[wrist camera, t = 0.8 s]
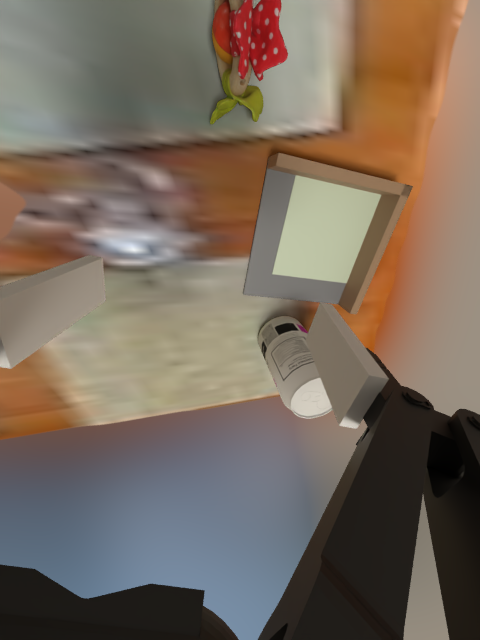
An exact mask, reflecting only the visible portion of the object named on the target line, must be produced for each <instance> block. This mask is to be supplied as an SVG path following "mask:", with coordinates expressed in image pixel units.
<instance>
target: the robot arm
mask: <svg viewBox="0 0 480 640" xmlns="http://www.w3.org/2000/svg"><path fill="white" fill-rule="evenodd" d="M105 301H106V297H105V283H104V270H103V258H100V257H95V256H91V255H88V256H86V257H83V258H80V259H77V260H74V261H72V262H69V263H66V264H63V265H60V266H57V267H55V268H52V269H49V270H46V271H43V272H41V273H38V274H35V275H32V276H29V277H27V278H24V279H21V280H18V281H15V282H12V283H10V284H7V285H4V286H1V287H0V367H4V368H10V369H11V368H13V367H14V366H15V365H17V364H18V363H20V362H21V361H22V360H24V359H25V358H27V357H28V356H29V355H31V354H32V353H34V352H35V351H36V350H38V349H39V348H41V347H42V346H43V345H45V344H46V343H48V342H49V341H50V340H52V339H53V338H55V337H56V336H57V335H59V334H60V333H62V332H63V331H64V330H66V329H67V328H69V327H70V326H71V325H73V324H74V323H76V322H77V321H78V320H80V319H81V318H83V317H84V316H85V315H87V314H88V313H90V312H91V311H92V310H94V309H95V308H97V307H98V306H99V305H101V304H102V303H104V302H105ZM306 342H307V345H308V347H309V350H310V352H311V355H312V358H313V360H314V363H315V365H316V368H317V370H318V373H319V375H320V378H321V381H322V383H323V386H324V388H325V391H326V393H327V396H328V398H329V401H330V404H331V406H332V409H333V411H334V414H335V416H336V419H337V421H338V424H339V426H344V427H350V428H357V427H358V426H359V424H360V423H361V421H362V420H363V419H364V420H365V422H366V424H367V426H368V427H367V429H366V430H365V432H364V433H363V435H362V436H361V437H360V439H359V440H358V442H357V443H356V445H357V447H356V449H355V451H354V454H353V456H352V457H351V459H350V461H349V463H348V465H347V467H346V469H345V472H344V473H343V475H342V477H341V479H340V482H339V484H338V485H337V487H336V490H335V492H334V493H333V496H332V498H331V499H330V501H329V504H328V505H327V507H326V509H325V512H324V513H323V515H322V517H321V520H320V522H319V524H318V526H317V528H316V530H315V532H314V534H313V536H312V538H311V540H310V542H309V544H308V546H307V548H306V550H305V552H304V554H303V556H302V558H301V560H300V562H299V564H298V566H297V568H296V570H295V572H294V574H293V576H292V578H291V580H290V582H289V584H288V586H287V588H286V590H285V592H284V594H283V596H282V598H281V600H280V601H279V603H278V605H277V607H276V608H275V610H274V612H273V613H272V615H271V617H270V619H269V620H268V622H267V624H266V625H265V627H264V629H263V631H262V633H261V634H260V636H259V638H258V640H403V636H404V625H405V618H406V610H407V602H408V596H409V589H410V582H411V575H412V567H413V560H414V553H415V546H416V539H417V531H418V524H419V516H420V510H421V503H422V495H423V494H424V501H425V506H426V511H427V517H428V523H429V528H430V534H431V539H432V545H433V550H434V556H435V561H436V567H437V572H438V578H439V584H440V589H441V595H442V600H443V606H444V611H445V617H446V622H447V628H448V633H449V639H450V640H480V415H479V414H477V413H475V412H472V411H469V410H466V409H459V410H457V411H456V412H455V414H454V415H453V416H452V417H450V416H447V415H445V414H442V413H440V412H437V411H435V410H434V408H433V405H432V404H431V403H430V402H429V400H427V399H426V398H425V397H424V396H423V395H421V394H420V393H418V392H416V391H414V390H412V389H410V388H408V387H404V386H401V385H400V384H399V383H398V381H397V380H396V379H395V378H394V377H393V375H392V374H391V373H390V371H389V370H388V369H386V367H385V365H384V364H383V363H382V362H381V360H380V359H379V358H378V357H377V355H376V354H374V353H373V352H372V351H370V350H369V349H368V348H365V347H364V346H363V344H362V343H361V342H360V340H359V339H358V338H357V337H356V335H355V334H354V333H353V331H352V330H351V329H350V327H349V326H348V325H347V324H346V322H345V321H344V320H343V318H342V317H341V316H340V314H339V313H338V312H337V311H336V309H335V308H334V307H333V305H330V304H325V303H321V302H320V304H319V307H318V309H317V312H316V314H315V317H314V319H313V322H312V324H311V327H310V330H309V332H308V335H307V337H306ZM203 599H204V590H196V589H189V588H180V587H172V586H165V585H156V584H148V585H144V586H140V587H135V588H131V589H127V590H123V591H119V592H115V593H111V594H106V595H102V596H98V597H94V598H89V599H84V598H81V597H79V596H77V595H75V594H74V593H72V592H71V591H69V590H67V589H66V588H64V587H63V586H61V585H59V584H58V583H56V582H55V581H53V580H51V579H50V578H48V577H47V576H45V575H43V574H42V573H40V572H39V571H37V570H35V569H29V568H22V567H14V566H5V565H0V640H238V638H237V636H236V635H235V634H234V633H233V631H232V630H231V629H230V628H229V627H228V626H227V624H226V623H225V622H224V621H223V620H222V619H221V618H219V617H218V616H217V615H216V614H215V613H214V612H212V611H211V610H209V609H207V608H206V607H204V606H203Z"/></svg>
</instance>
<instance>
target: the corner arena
mask: <svg viewBox="0 0 480 640" xmlns="http://www.w3.org/2000/svg"><path fill="white" fill-rule="evenodd" d="M412 187H413V186H410V185H406V184H402V183H398V182H394V181H390V180H386V179H382V178H378V177H374V176H370V175H366V174H362V173H358V172H354V171H350V170H346V169H342V168H338V167H334V166H330V165H326V164H322V163H318V162H314V161H310V160H306V159H302V158H298V157H294V156H290V155H286V154H282V153H277V154H275V155H273V156H271V157H269V158H268V163H267V169H266V174H265V179H264V185H263V190H262V195H261V201H260V206H259V211H258V216H257V222H256V227H255V232H254V238H253V243H252V248H251V254H250V259H249V264H248V269H247V275H246V280H245V285H244V291H243V295H251V296H261V297H271V298H281V299H291V300H301V301H312V302H322V303H332V304H339V305H340V306H341V307H342V308H344V309H345V310H346V311H347V312H349V313H350V314H357V312H358V310H359V307H360V305H361V303H362V301H363V298H364V296H365V294H366V292H367V289H368V287H369V285H370V283H371V280H372V278H373V276H374V273H375V271H376V269H377V267H378V264H379V262H380V260H381V258H382V255H383V253H384V251H385V249H386V246H387V244H388V242H389V240H390V237H391V235H392V233H393V230H394V228H395V226H396V224H397V221H398V219H399V217H400V215H401V212H402V210H403V208H404V206H405V203H406V201H407V199H408V196H409V194H410V192H411V190H412Z"/></svg>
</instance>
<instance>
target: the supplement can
mask: <svg viewBox="0 0 480 640" xmlns="http://www.w3.org/2000/svg"><path fill="white" fill-rule="evenodd" d="M307 335H308V332H307V331H306V329H305V328H304V327H303V326H302V324H301V323H300V322H299V321H298V320H297V319H295V318H293V317H290V316H280V317H277V318H273V319H272V320H270V321H269V322H267V323H266V324H265V325H264V326H263V327H262V329H261V330H260V333H259V336H258V344H259V346H260V349H261V351H262V353H263V356H264V358H265V361H266V363H267V365H268V368H269V370H270V372H271V375H272V377H273V380H274V382H275V384H276V387H277V389H278V391H279V394H280V396H281V399H282V401H283V403H284V405H285V406H286V407H287V408H289V409H290V410H292V411H293V413H294V414H296V415H297V416H299V417H302V418H316V417H319V416H322V415H325V414H327V413H328V412H330V411H332V410H333V409H332V406H331V404H330V401H329V398H328V396H327V393H326V391H325V388H324V386H323V383H322V381H321V378H320V375H319V373H318V370H317V368H316V365H315V363H314V360H313V358H312V355H311V352H310V350H309V347H308V345H307V342H306V337H307Z"/></svg>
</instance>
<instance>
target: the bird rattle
mask: <svg viewBox="0 0 480 640" xmlns="http://www.w3.org/2000/svg"><path fill="white" fill-rule="evenodd" d="M280 13H281V0H261V1H260V2H259V3H258V4H257V5H256V7H255V8H254V9H253V0H215V5H214V19H213V26H212V39H213V44H214V48H215V50H216V57H217V63H218V69H219V73H220V77H221V81H222V85H223V89H224V92H225V94H226V95H227V97H226V98H225V99H222V100H220V101H219V102H218V103H217V107H216V109H215V110H214V112H213V114H212V117H211V119H210V124H214V123H215V121H216V120H218V119H219V118H221V117H222V116H223V115H225V114H226V113H228V112H229V111H231V110H232V109H233V108H234V107H235V105H236V104H237V102H238V103H239V105H244V106H246V107H247V108H249V109H250V110H251V111H252V119H253V121H254V122H257V121H258V118H259V114H261V113H262V109H263V96H262V93H261V91H260V89H259V88H258V87H257V86H248V83H249V79H250V75H251V70H252V68H253V70H254V73H255V75H256V77H257V78H258V80H259V81H261V80H262V79H263V71H265V70H267V69H269V68H271V67H274V66H276V65H279V64H281V63H283V62H284V61H285V60H286V59H287V56H288V53H287V49H286V46H285V44H284V40H283V37H282V35H281V32H280V30H279V17H280Z"/></svg>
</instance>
